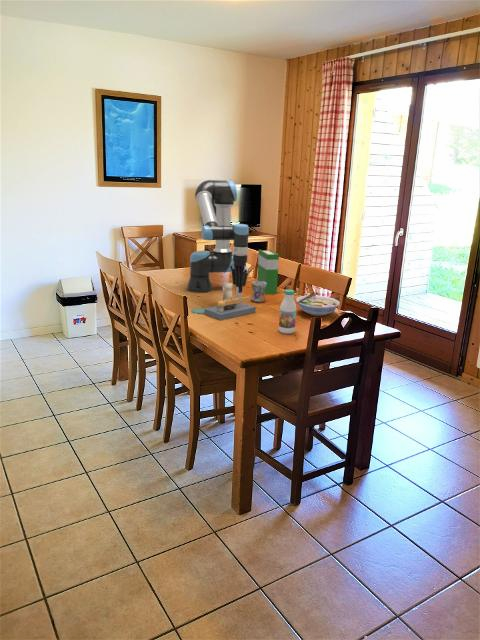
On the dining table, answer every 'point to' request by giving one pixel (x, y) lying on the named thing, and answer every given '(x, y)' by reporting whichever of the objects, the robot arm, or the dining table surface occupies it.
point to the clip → (233, 301)
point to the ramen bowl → (317, 304)
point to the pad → (198, 310)
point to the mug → (258, 291)
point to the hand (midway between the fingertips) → (238, 298)
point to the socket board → (229, 311)
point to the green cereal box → (268, 270)
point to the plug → (227, 294)
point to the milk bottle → (287, 313)
